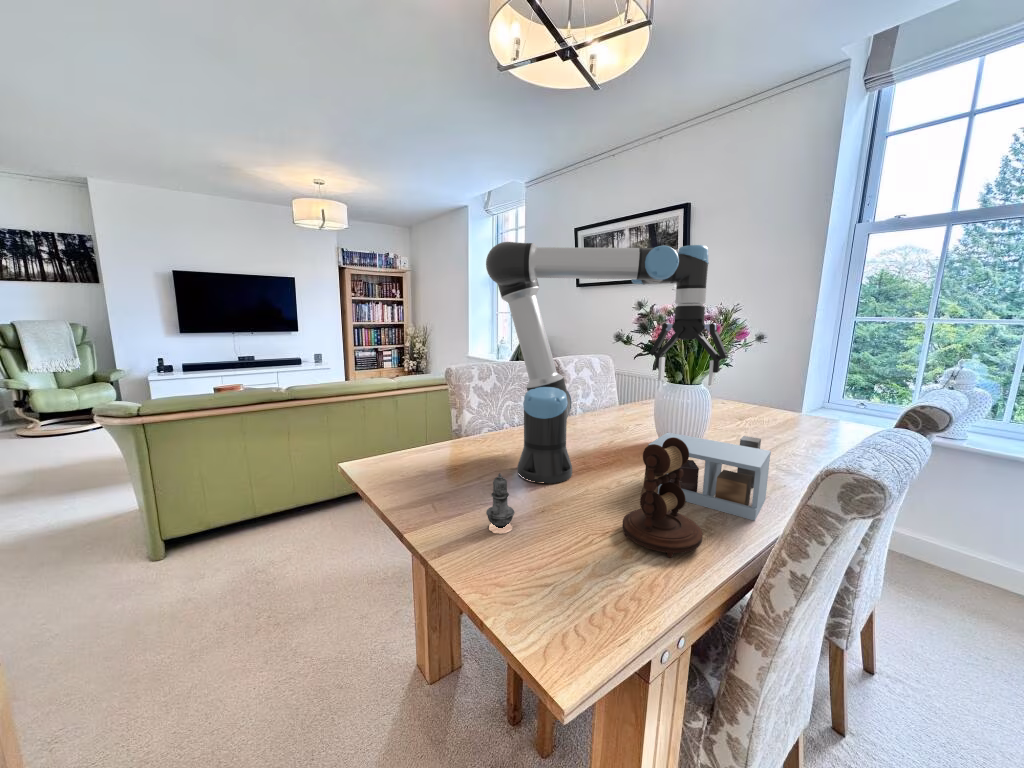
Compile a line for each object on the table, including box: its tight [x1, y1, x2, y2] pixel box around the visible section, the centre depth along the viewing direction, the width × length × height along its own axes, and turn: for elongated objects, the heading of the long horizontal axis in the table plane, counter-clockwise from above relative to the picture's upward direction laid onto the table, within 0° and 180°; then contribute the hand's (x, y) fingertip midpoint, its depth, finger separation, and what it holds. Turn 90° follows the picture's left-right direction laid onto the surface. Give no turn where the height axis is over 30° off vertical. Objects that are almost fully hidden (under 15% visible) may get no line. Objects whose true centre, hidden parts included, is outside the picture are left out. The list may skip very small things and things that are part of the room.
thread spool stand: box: [622, 437, 703, 559], centre depth 79 cm, size 15×15×20 cm
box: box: [668, 459, 700, 493], centre depth 101 cm, size 6×6×7 cm
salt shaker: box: [485, 473, 515, 528], centre depth 84 cm, size 6×6×12 cm
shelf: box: [647, 432, 772, 522], centre depth 99 cm, size 24×14×12 cm, turn 50°
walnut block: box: [714, 435, 762, 506], centre depth 99 cm, size 6×21×12 cm, turn 140°
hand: (685, 382), depth 114 cm, fingers open, 13 cm apart
